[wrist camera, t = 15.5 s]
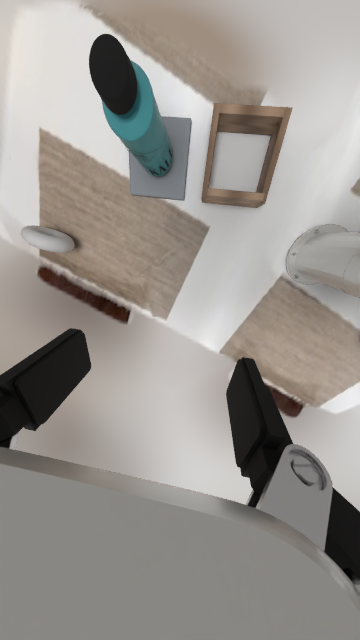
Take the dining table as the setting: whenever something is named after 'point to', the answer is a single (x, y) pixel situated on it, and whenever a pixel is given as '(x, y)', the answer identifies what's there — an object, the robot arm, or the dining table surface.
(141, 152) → the beverage bottle
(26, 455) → the robot arm
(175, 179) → the slate mat
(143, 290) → the dining table surface
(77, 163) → the dining table surface
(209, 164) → the brown wooden open box
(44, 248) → the donut
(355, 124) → the dining table surface
